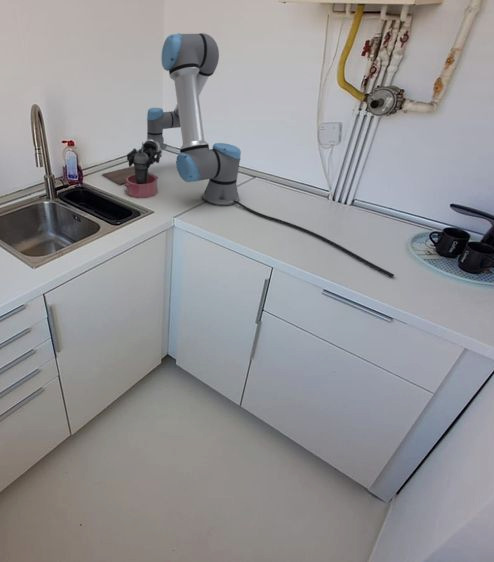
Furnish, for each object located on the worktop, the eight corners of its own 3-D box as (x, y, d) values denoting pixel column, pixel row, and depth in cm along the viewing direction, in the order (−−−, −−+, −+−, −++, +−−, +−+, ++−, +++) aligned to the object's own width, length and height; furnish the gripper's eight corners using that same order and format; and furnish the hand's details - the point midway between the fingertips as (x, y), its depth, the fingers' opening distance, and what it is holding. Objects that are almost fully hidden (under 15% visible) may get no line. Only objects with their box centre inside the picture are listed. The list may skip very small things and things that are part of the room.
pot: (165, 191, 171) (165, 179, 168) (135, 201, 163) (134, 188, 159) (147, 182, 180) (147, 170, 176) (117, 191, 172) (117, 178, 168)
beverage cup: (143, 182, 174) (143, 138, 162) (152, 187, 169) (153, 142, 157) (130, 185, 171) (129, 141, 159) (139, 191, 166) (138, 145, 154)
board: (153, 176, 187) (153, 174, 186) (119, 185, 177) (119, 183, 177) (134, 167, 197) (134, 165, 196) (102, 175, 187) (102, 173, 187)
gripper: (170, 158, 177) (161, 174, 159) (130, 154, 181) (116, 170, 163) (171, 141, 173) (161, 157, 155) (129, 138, 176) (115, 153, 158)
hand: (138, 164), depth 159 cm, fingers closed on beverage cup, 7 cm apart
